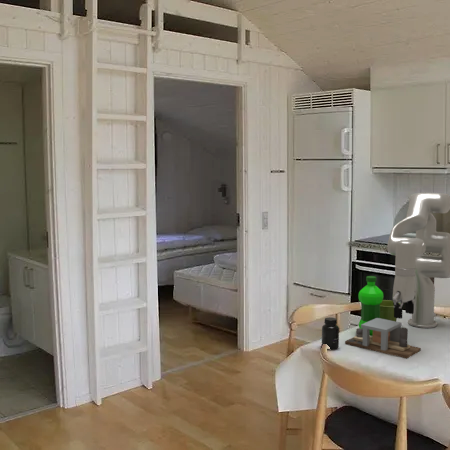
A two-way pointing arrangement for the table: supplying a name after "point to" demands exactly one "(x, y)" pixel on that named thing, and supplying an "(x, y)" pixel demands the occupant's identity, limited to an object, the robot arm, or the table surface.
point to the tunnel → (382, 327)
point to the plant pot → (387, 310)
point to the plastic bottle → (370, 301)
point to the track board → (394, 352)
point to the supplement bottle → (330, 333)
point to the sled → (376, 339)
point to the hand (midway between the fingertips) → (403, 315)
